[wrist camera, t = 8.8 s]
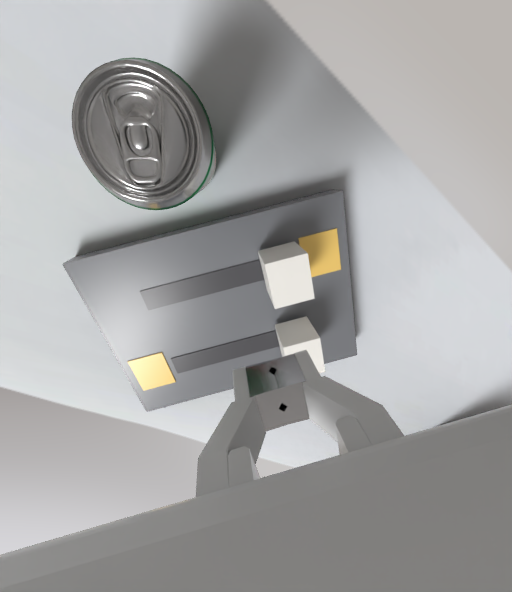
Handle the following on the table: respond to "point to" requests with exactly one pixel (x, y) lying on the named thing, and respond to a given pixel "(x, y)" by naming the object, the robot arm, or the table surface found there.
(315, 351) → the block
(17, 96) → the table surface
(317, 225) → the switch panel
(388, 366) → the table surface
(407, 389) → the table surface
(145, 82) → the soda can
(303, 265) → the block
